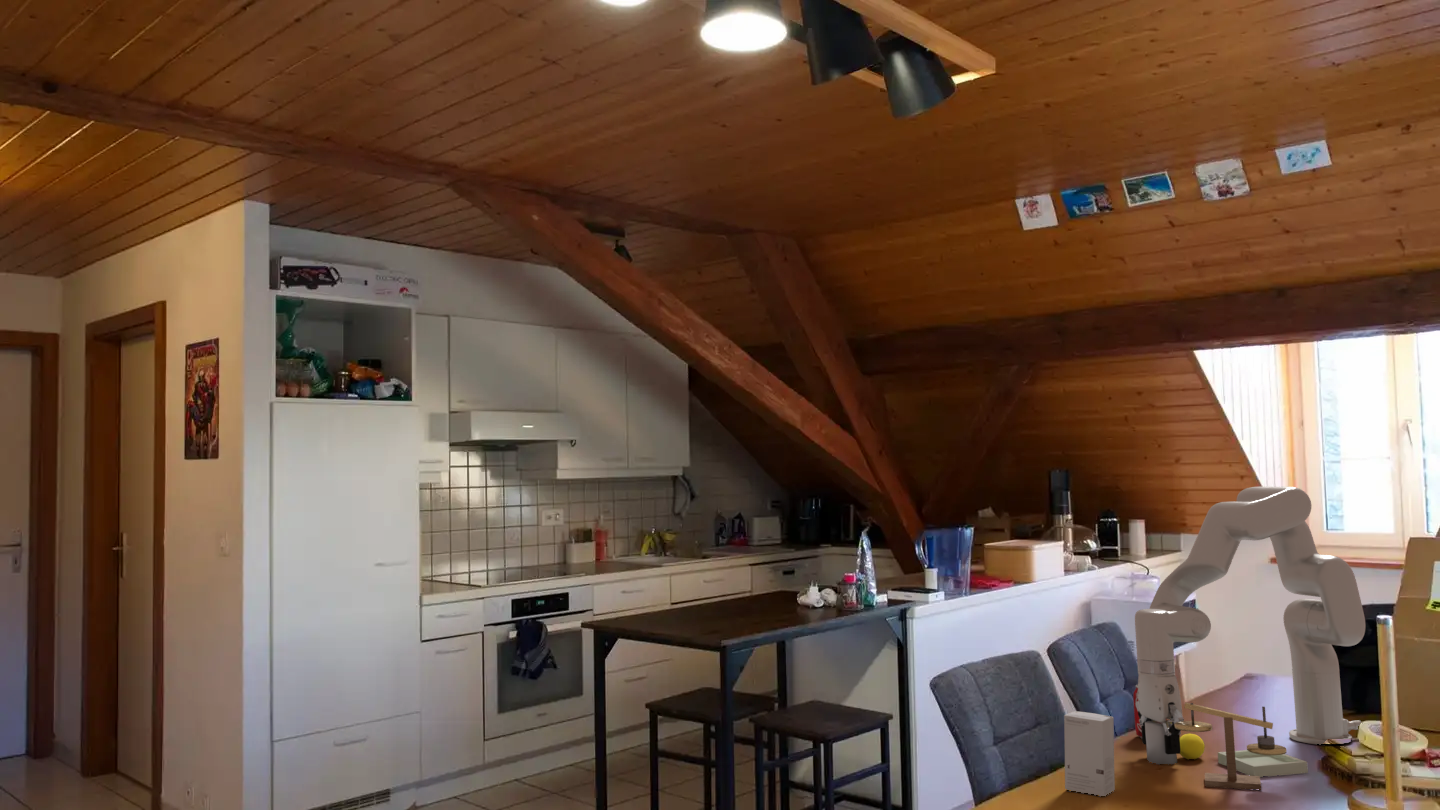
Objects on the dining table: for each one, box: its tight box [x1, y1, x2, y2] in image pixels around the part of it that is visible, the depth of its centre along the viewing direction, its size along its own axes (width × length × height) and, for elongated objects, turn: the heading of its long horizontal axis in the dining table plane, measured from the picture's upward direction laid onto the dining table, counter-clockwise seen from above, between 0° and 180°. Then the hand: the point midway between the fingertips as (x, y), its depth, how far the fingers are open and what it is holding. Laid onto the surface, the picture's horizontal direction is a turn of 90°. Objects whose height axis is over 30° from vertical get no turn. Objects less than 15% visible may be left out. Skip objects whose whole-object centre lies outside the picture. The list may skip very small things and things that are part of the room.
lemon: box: [1179, 733, 1206, 760], centre depth 237 cm, size 7×5×5 cm
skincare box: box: [1063, 710, 1116, 797], centre depth 216 cm, size 8×6×15 cm
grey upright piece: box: [1145, 720, 1178, 766], centre depth 236 cm, size 6×6×8 cm
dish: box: [1217, 749, 1309, 778], centre depth 227 cm, size 12×12×2 cm
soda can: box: [1133, 684, 1168, 739], centre depth 256 cm, size 7×7×12 cm
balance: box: [1174, 701, 1287, 790], centre depth 217 cm, size 20×7×16 cm, turn 66°
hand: (1161, 748), depth 235 cm, fingers open, 8 cm apart
